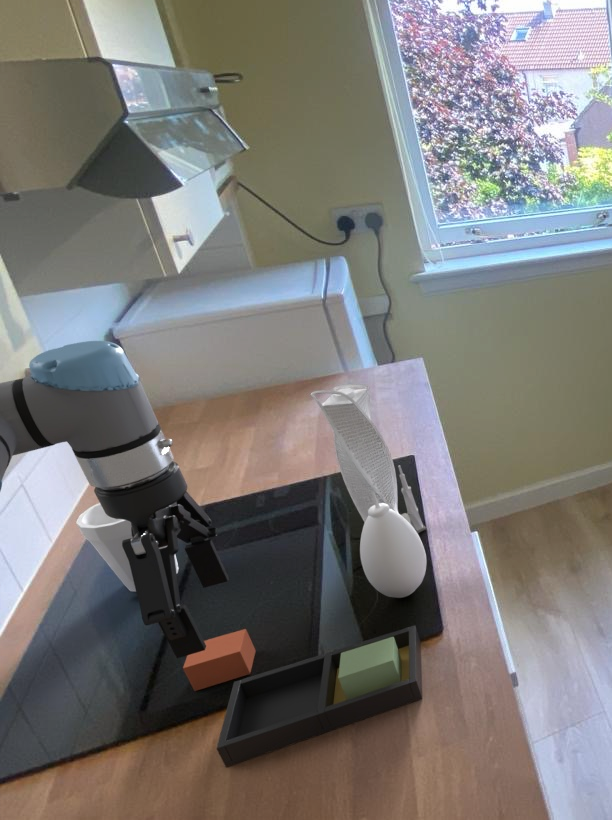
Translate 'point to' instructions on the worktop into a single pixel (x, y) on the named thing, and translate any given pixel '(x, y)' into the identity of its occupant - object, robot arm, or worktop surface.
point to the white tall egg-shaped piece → (391, 552)
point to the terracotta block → (220, 660)
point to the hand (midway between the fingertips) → (204, 615)
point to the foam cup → (109, 541)
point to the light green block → (370, 668)
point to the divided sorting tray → (310, 701)
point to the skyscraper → (364, 453)
